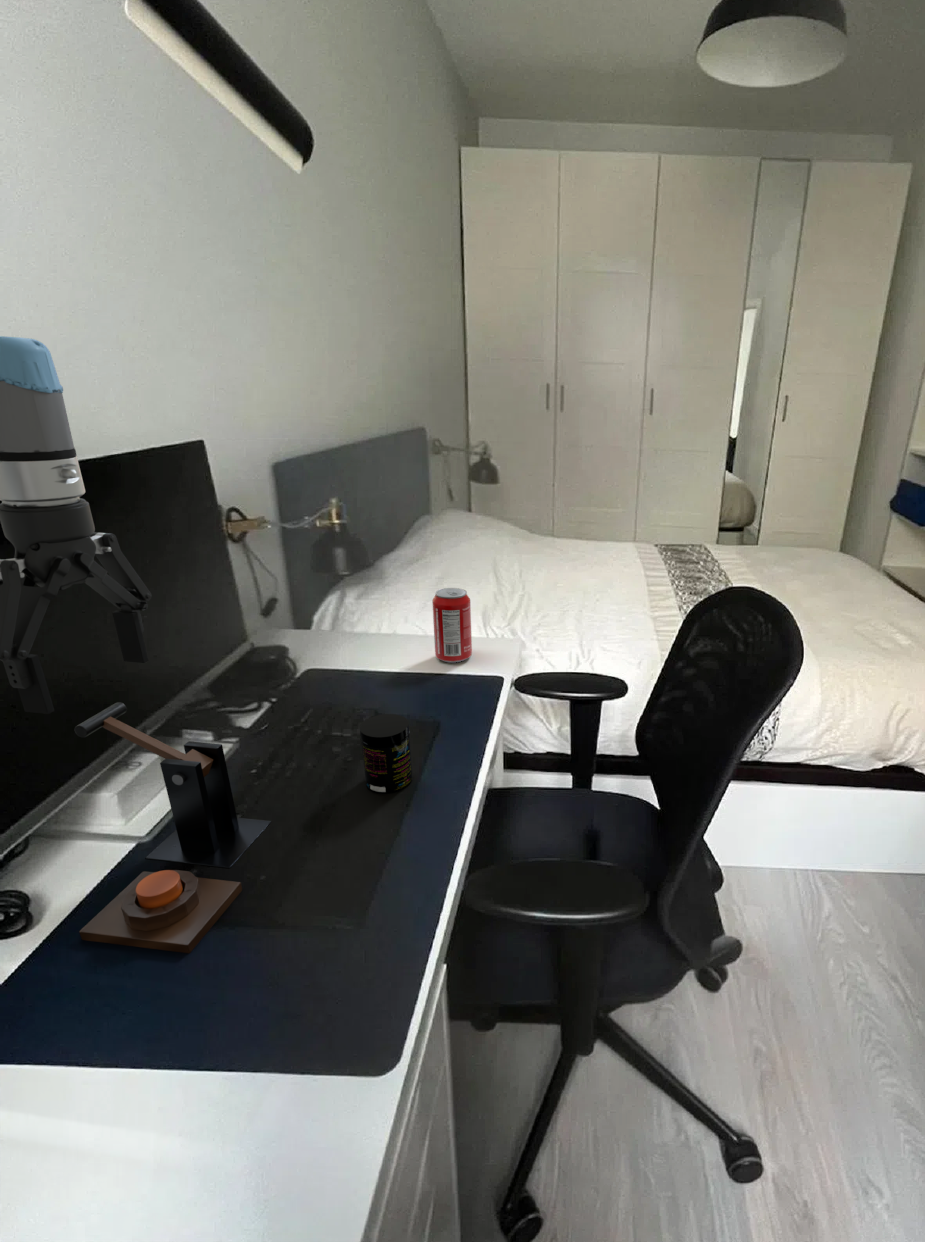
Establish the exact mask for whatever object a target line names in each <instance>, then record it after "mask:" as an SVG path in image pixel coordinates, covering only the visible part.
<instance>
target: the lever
mask: <svg viewBox="0 0 925 1242" xmlns="http://www.w3.org/2000/svg"><path fill="white" fill-rule="evenodd" d="M127 710H128V708H127V706H126V705H125V704H124V703H123V702H120V701H117V702H115V703H114V704H111V705H109V706H108V707H106V708H105V709H103V710H101V711H99V712H98V713H97V714H94V715H93V716H91V717H89V718H88V719H86V720H84V721H83V722H81V723H79V724H77V725H76V726H74V732H75V734H76V736H77V737H80V738H86V737H88V736H89V735H91V734H93V733H95V732H96V731H98V730H99V729H101V728H102V729H105V730H107V731H109V732H111V733H113V734H114V735H117V736H119V737H121V738H123V739H125V740H127V741H129V742H131V743H133V744H135V745H137V746H139V747H141V748H143V749H145V750H146V751H149V752H151V753H153V754H155V755H157V756H159V757H161V758H163V759H164V760H165V759H175V760H186V761H196V762H201V766H202V771H203V775H204V777H205V776H206V775H207V774H209V771H210V768H211V765H212V763H213V759H212V758H210V757H208V756H206V755H204V754H202V753H200V752H198V751H196V750H194V749H192V750H191V751H189V752H188V753H187V754H185V752H182V751H180V750H179V749H176V748H175V747H172V746H170V745H168V744H166V743H164V742H162V741H160V740H158V739H156V738H154V737H152V736H150V735H148V734H147V733H144V732H142V731H140V730H138V729H136V728H134V727H132V726H130V725H129V724H126V723H125V722H123V721H121V720H118V719H117V718H119V717H121V716H122V715H124V714H125V713H127Z"/></svg>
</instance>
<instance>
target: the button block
mask: <svg viewBox="0 0 925 1242" xmlns="http://www.w3.org/2000/svg"><path fill="white" fill-rule="evenodd" d="M171 870H172V871H175V872H177V873H178V874H179V876H180V880H181V884H182V888H183V890H182V893H181V895H180V896H179V897H178V898H177V899H176V900H174V901H172V902H171V903H169V904H167V905H165V906H162V907H158V908H154V909H145V908H143V907H141V906H140V904H139V901H138V898H137V894H136V887H137V885H138V883H139V882H140V881H141V880H142V879H144V878H145V877H147V876H149V875H151V874H153V873H155V872H156V871H145V870H144V871H142V872H141V873H140V874H139V875H138V876H136V878H135V879H133V880H132V881H131V882H130V883H129V884H128V885H127V886H126V887H124V889H123V890H122V891H120V892H119V894H117V895H116V896H115V897H114V898H113V899H112V900H111V901H110V902H109V903H107V905H105V907H104V908H102V909H101V910H100V911H99V912H98V913H97V914H96V915H95V916H94V917H93V918H92V919H90V921H88V922H87V923H86V925H84V926H83V927H82V928H81V929H80V930H79V931H78V933H79V936H80V939H81V941H88V942H95V943H102V944H103V943H104V944H113V945H118V946H119V945H120V946H127V947H128V946H129V947H135V948H144V949H150V950H159V951H167V952H168V951H169V952H175V953H184V954H191V953H192V952H193V950H194V949H195V948H196V946H198V944H199V943H200V942H201V941H202V940H203V938H204V937H205V936H206V935H207V934H208V932H209V931H210V930H211V929H212V927H213V926H214V925H215V924H216V923H217V921H219V919H220V918H221V916H222V915H223V914H224V913H225V912H226V911H227V909H228V908H229V907H230V906H231V904H233V902H234V901H235V900H236V898H237V897H238V896H239V895H240V894H241V893H242V891H243V887H242V882H241V881H232V880H225V879H224V880H223V879H217V878H216V879H214V878H207V877H206V878H205V877H198V876H195V874H193V873H192V872H191V871H189V870H179V869H171Z"/></svg>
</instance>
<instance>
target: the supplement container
mask: <svg viewBox="0 0 925 1242" xmlns="http://www.w3.org/2000/svg"><path fill="white" fill-rule="evenodd" d="M410 732H411V731H410V723H409V720H408V719H407V718H406V717H405V716H403V715H400V714H394V713H385V714H378V715H374V716H371V717H369V718H367V719H365V720H364V721H362V722H361V724H360V725H359V734H360V735H359V737H360V738H359V739H360V742H361V743H360V744H361V751H362V762H363V770H364V779H365V786H366V788H367V790H368V791H369V792H371V793H374V794H379V795H388V794H389V795H390V794H395V793H399V792H401V791H403V790H405V789H407V788H408V787H410V785H411V784H412V782H413V781H414V780H413V766H412V765H413V764H412V753H411V751H412V750H411V738H410V734H411V733H410Z"/></svg>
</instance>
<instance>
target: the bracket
mask: <svg viewBox="0 0 925 1242" xmlns="http://www.w3.org/2000/svg"><path fill="white" fill-rule="evenodd" d="M223 746H224V745H223V744H221V743H212V742H202V741H192V740H191V741H190V740H188V741H187V742H185V744H183V749H184V754H187V753H188V752H189V751H191V750H192V749H194V750H196V751H198V752H200V753H202V754H204V755H206V756H208V757H210V758H212V759H213V763H212V765H211V768H210V771H209V774H207V775H206V776H205V777H204V775H203V771H202V766H201V762H196V761H186V760H175V759H165V758H164V759H163V760H162V761H161V762H159V765H160V769H161V773H162V777H163V781H164V785H165V789H166V792H167V798H168V801H169V805H170V808H171V812H172V818H173V821H174V825H175V830H174V831H173V832H172V833H171V834H169V835H168V836H167V837H166V838H164V840H163V841H161V843H159V844H158V845H157V846H156V847H155V848H154V849H153V850H152V851H151V852H149V854H147V855H146V856H145V857H144V859H145V860H152V861H159V862H169V863H179V864H185V865H187V864H188V865H195V866H203V867H213V868H222V869H231V868H232V867H233V866H234V865H236V863H237V862H238V861H239V860H240V858H241V857H242V856H243V855H244V854H245V853H246V852H247V850H248V849H249V848H250V847H251V846H252V845H253V844H254V842H255V841H256V840H257V839H258V838H259V837H260V836H261V835H262V834H263V833H264V831H265V830H266V829H267V828H268V827H269V826H270V825H271V823H272V820H265V819H256V818H245V817H238V816H237V811H236V806H235V802H234V797H233V791H232V786H231V782H230V776H229V771H228V766H227V762H226V757H225V752H224V747H223Z"/></svg>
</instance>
